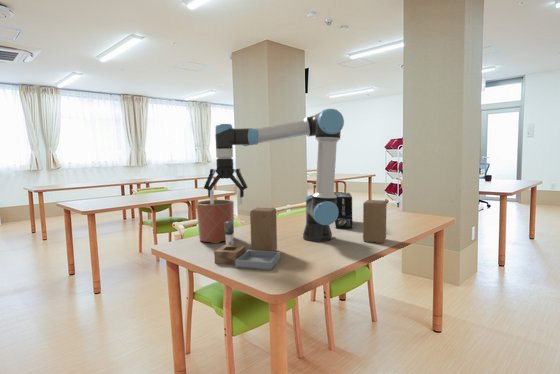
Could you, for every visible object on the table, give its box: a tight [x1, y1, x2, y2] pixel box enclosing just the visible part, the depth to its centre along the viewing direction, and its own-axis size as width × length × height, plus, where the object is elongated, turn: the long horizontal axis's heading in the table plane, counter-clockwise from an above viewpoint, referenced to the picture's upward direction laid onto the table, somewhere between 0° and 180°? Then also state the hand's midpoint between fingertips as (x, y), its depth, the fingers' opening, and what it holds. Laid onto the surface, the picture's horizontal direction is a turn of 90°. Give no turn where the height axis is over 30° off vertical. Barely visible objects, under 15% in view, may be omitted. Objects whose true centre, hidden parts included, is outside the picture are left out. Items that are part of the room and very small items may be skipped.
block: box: [362, 199, 387, 244], centre depth 167 cm, size 10×10×20 cm
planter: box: [196, 199, 235, 244], centre depth 175 cm, size 19×19×20 cm
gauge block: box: [213, 244, 247, 265], centre depth 141 cm, size 10×10×5 cm
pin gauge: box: [224, 221, 235, 245], centre depth 152 cm, size 4×4×14 cm
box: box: [334, 192, 353, 229], centre depth 205 cm, size 23×10×19 cm, turn 172°
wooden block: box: [249, 207, 278, 252], centre depth 150 cm, size 10×10×20 cm
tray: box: [234, 249, 281, 271], centre depth 136 cm, size 15×15×3 cm
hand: (226, 204), depth 155 cm, fingers open, 13 cm apart
